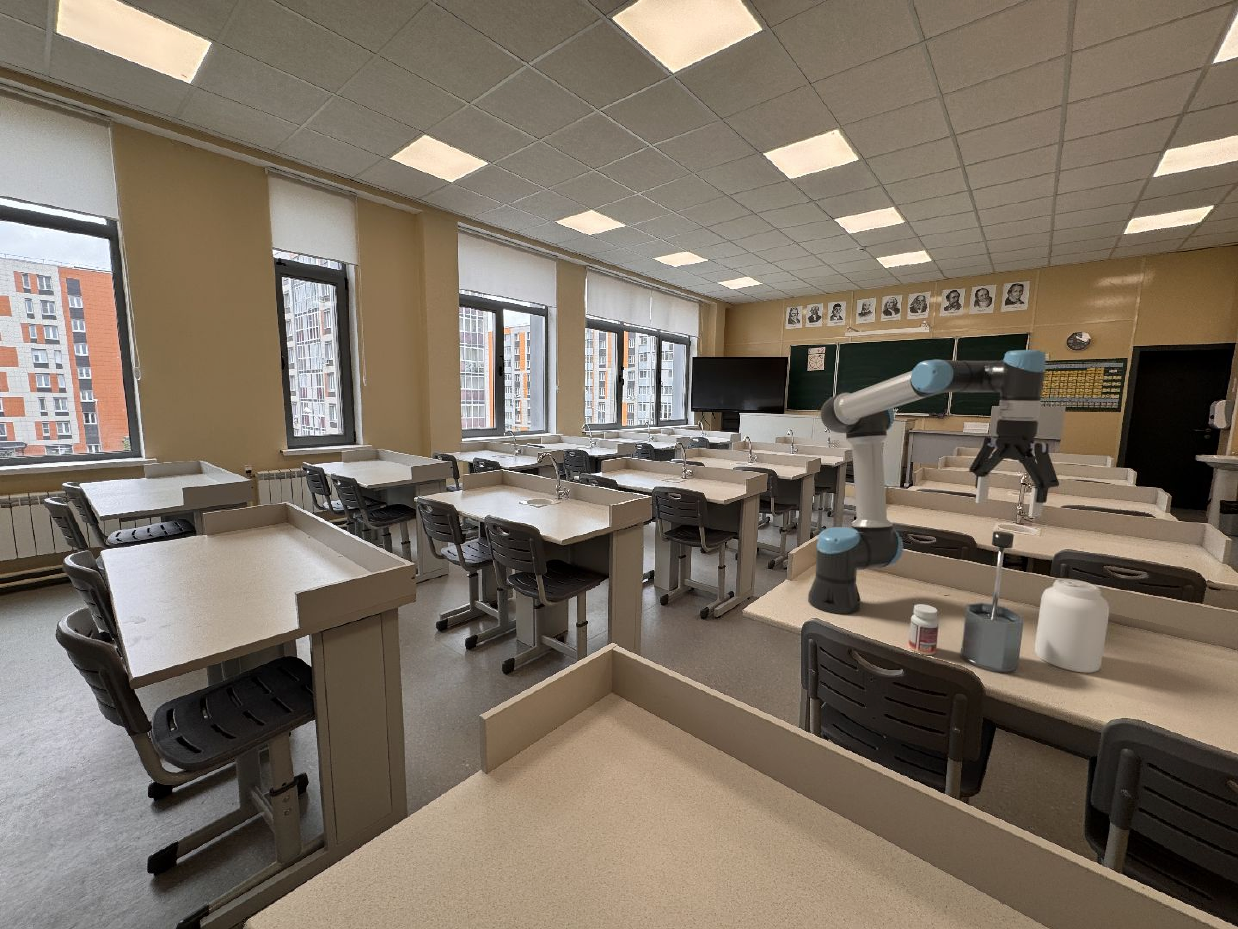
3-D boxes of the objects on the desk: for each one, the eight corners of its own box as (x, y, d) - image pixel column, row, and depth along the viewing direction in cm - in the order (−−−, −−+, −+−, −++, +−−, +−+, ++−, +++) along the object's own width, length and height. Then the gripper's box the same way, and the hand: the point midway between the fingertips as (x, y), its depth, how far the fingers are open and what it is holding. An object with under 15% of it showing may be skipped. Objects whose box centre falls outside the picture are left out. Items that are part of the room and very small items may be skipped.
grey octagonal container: (949, 651, 134) (954, 605, 132) (994, 645, 137) (999, 600, 135) (989, 675, 123) (995, 625, 121) (1038, 669, 126) (1044, 620, 124)
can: (1031, 661, 129) (1041, 584, 126) (1036, 642, 138) (1046, 570, 135) (1099, 680, 121) (1112, 598, 118) (1100, 659, 130) (1112, 583, 127)
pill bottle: (940, 651, 134) (944, 609, 132) (928, 658, 130) (932, 615, 129) (916, 641, 139) (919, 601, 137) (903, 648, 135) (907, 606, 134)
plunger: (963, 618, 131) (973, 529, 128) (991, 615, 133) (1001, 527, 129) (993, 633, 123) (1005, 539, 119) (1023, 630, 125) (1035, 537, 121)
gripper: (958, 415, 131) (949, 498, 135) (1060, 423, 107) (1046, 523, 110) (983, 415, 133) (974, 497, 136) (1089, 422, 109) (1074, 521, 112)
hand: (1006, 509), depth 123 cm, fingers open, 13 cm apart
